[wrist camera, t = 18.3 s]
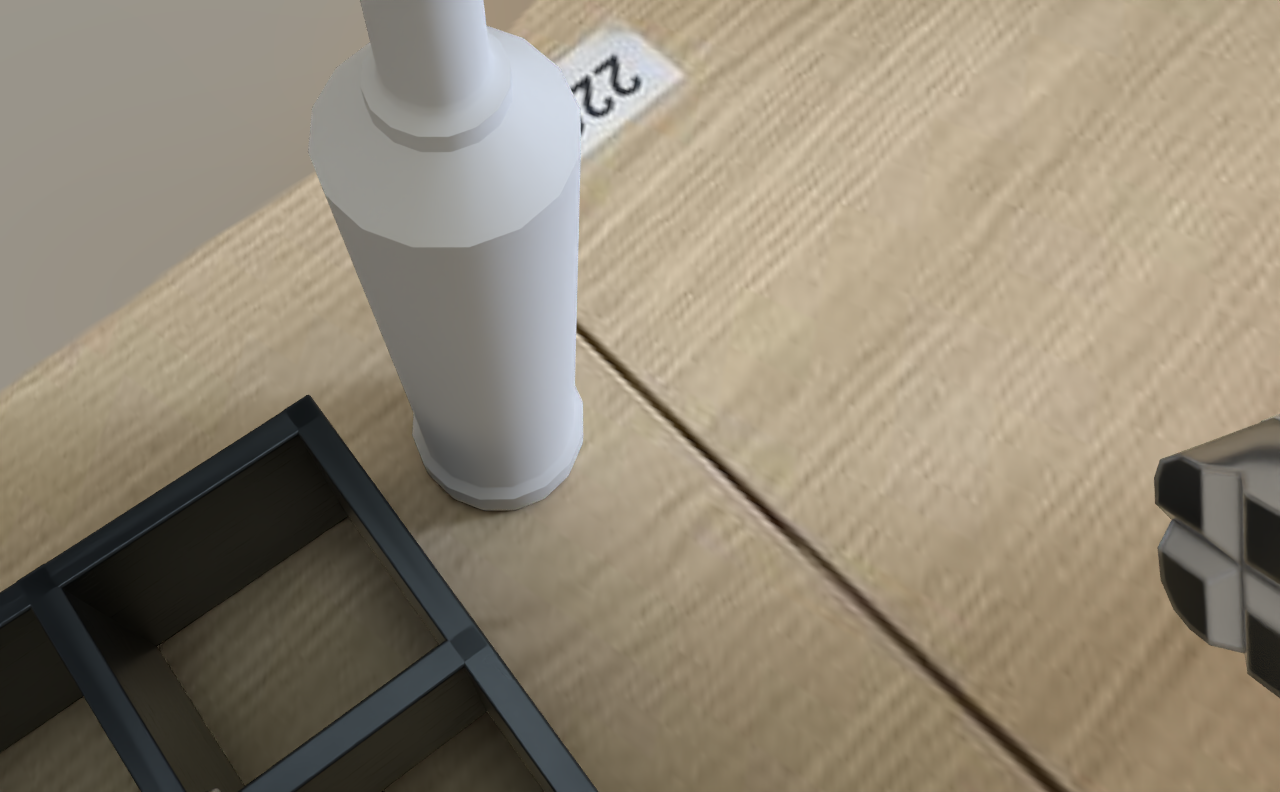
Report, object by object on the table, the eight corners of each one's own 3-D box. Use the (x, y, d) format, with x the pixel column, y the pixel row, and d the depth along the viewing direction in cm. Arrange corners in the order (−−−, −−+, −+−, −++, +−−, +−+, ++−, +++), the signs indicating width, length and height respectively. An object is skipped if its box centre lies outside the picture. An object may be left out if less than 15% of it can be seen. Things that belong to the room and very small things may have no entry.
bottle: (567, 350, 40) (538, -427, 17) (600, 500, 38) (620, -144, 15) (407, 380, 39) (147, -384, 16) (432, 534, 37) (179, -84, 14)
